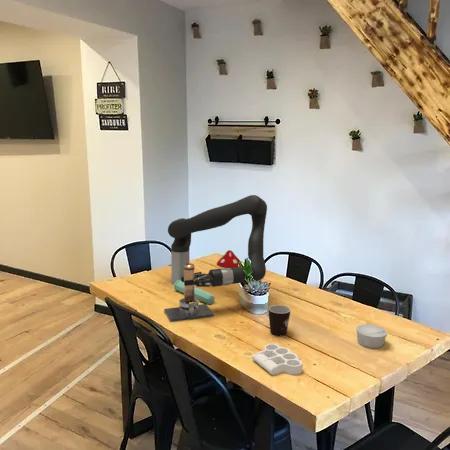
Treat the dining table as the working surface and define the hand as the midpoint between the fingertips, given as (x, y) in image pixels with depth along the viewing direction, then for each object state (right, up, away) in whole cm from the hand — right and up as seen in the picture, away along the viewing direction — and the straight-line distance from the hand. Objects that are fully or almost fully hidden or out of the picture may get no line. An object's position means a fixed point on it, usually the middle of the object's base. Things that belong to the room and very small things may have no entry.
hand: (183, 281), depth 202 cm
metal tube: (+2, -9, +3) cm, 9 cm away
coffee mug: (+40, -19, -12) cm, 46 cm away
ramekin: (+73, -21, -20) cm, 79 cm away
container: (+3, -11, +24) cm, 27 cm away
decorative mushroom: (+20, -4, +54) cm, 58 cm away
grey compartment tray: (+36, -25, -37) cm, 57 cm away
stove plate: (+2, -15, +4) cm, 15 cm away
